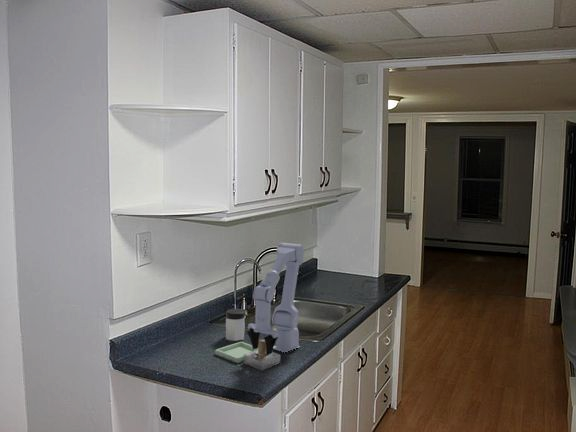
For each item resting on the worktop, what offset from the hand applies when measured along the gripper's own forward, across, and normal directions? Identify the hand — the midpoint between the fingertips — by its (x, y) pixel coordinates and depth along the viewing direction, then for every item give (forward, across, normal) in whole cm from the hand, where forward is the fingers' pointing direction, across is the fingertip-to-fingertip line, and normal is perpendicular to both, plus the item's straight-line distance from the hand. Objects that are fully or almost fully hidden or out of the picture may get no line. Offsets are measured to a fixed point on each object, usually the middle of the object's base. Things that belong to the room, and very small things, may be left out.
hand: (262, 351), depth 216 cm
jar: (+5, -29, +12) cm, 32 cm away
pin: (+5, 0, 0) cm, 5 cm away
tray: (+5, -13, 0) cm, 14 cm away
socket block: (+5, 0, 0) cm, 5 cm away
